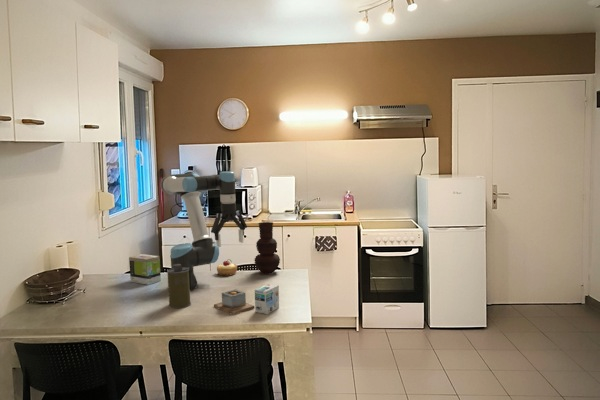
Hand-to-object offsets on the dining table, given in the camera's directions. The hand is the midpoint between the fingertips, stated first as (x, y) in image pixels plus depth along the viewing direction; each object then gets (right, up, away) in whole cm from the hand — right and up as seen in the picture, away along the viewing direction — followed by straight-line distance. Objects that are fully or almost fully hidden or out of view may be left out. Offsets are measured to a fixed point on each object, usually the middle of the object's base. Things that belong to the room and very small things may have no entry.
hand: (230, 244), depth 254 cm
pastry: (-8, -22, +47) cm, 52 cm away
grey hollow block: (+4, -27, -15) cm, 32 cm away
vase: (+16, -21, +46) cm, 53 cm away
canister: (-23, -29, -9) cm, 38 cm away
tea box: (-53, -25, +34) cm, 68 cm away
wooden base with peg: (+4, -29, -15) cm, 33 cm away
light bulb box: (+20, -29, -19) cm, 40 cm away
